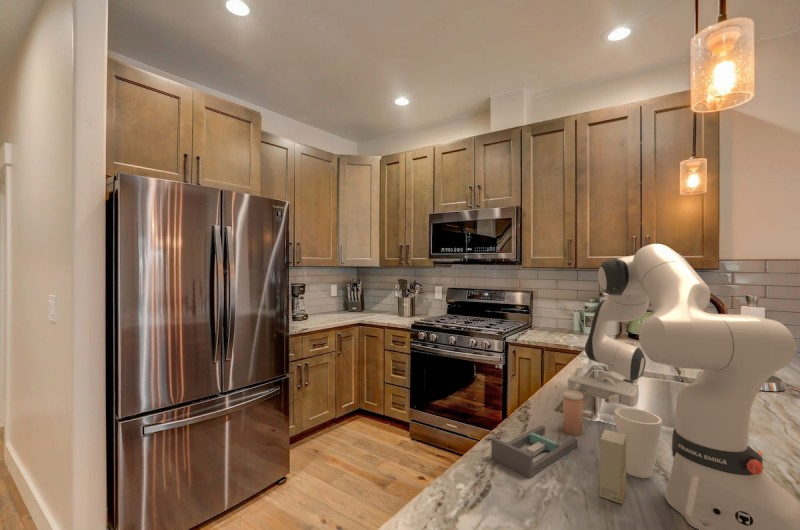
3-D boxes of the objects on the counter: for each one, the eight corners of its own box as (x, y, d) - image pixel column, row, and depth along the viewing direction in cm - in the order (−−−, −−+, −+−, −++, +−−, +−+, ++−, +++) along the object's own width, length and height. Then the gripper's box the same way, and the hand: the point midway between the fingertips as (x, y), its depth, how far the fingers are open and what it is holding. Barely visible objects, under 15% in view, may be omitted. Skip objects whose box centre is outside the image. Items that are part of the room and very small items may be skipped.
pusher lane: (540, 432, 106) (541, 414, 106) (577, 446, 98) (577, 428, 98) (491, 459, 91) (491, 438, 91) (529, 478, 83) (529, 456, 83)
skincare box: (622, 505, 74) (624, 445, 74) (597, 496, 77) (599, 438, 77) (626, 490, 80) (627, 434, 79) (602, 482, 82) (604, 428, 82)
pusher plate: (532, 441, 100) (532, 432, 100) (557, 452, 94) (557, 442, 94) (517, 449, 96) (517, 440, 95) (543, 461, 90) (543, 451, 90)
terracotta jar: (585, 431, 107) (586, 394, 106) (577, 437, 103) (578, 398, 103) (567, 425, 111) (568, 388, 111) (558, 430, 107) (559, 392, 107)
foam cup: (637, 484, 82) (639, 426, 81) (604, 462, 90) (605, 409, 90) (670, 478, 84) (672, 421, 84) (635, 457, 93) (636, 406, 93)
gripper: (578, 369, 132) (558, 376, 123) (643, 384, 116) (627, 395, 107) (577, 386, 132) (558, 395, 123) (643, 404, 116) (626, 416, 107)
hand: (591, 395), depth 115 cm, fingers open, 8 cm apart
